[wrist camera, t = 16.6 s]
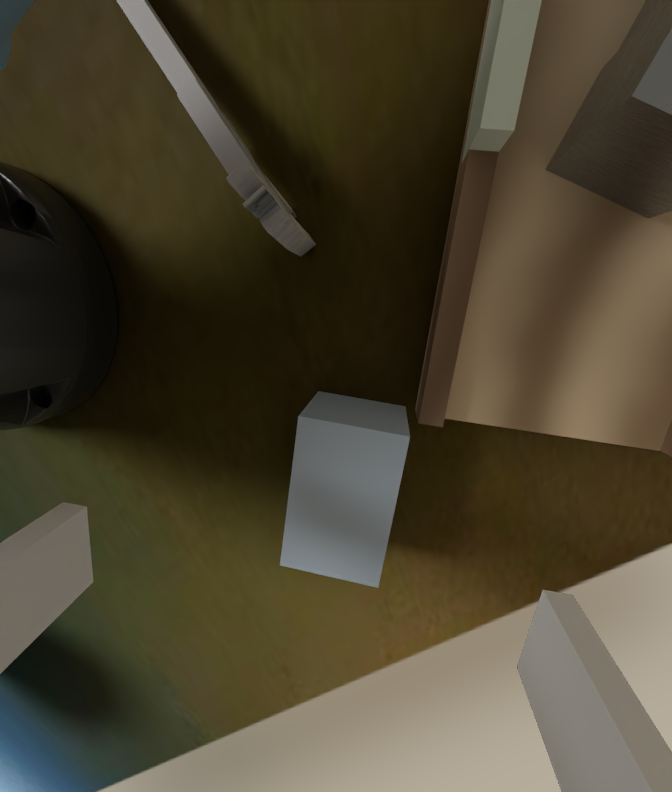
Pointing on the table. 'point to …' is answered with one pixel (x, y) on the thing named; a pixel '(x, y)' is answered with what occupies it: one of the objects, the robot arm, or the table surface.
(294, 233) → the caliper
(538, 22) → the slot board
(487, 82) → the tray
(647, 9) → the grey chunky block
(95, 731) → the table surface
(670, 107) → the grey squarish block
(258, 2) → the table surface
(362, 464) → the grey block
